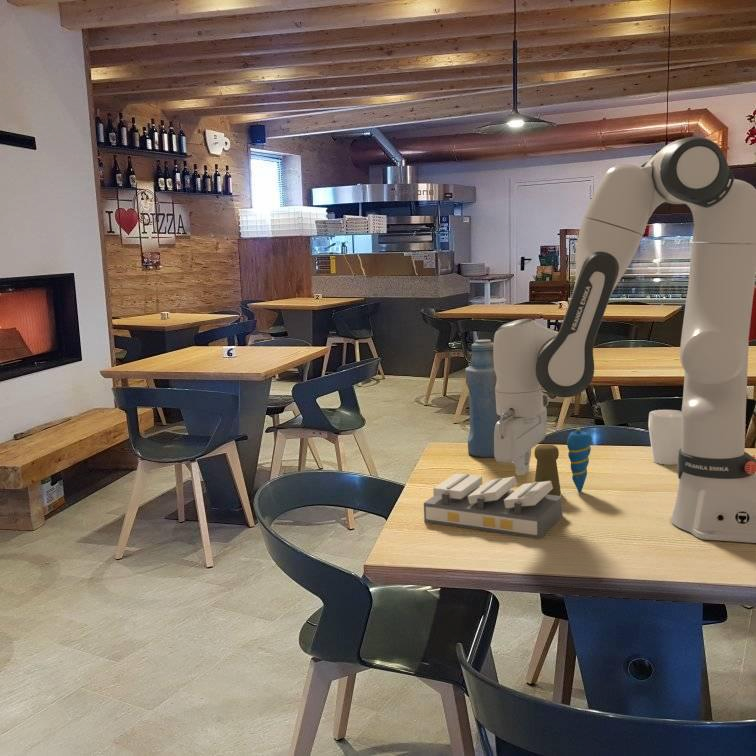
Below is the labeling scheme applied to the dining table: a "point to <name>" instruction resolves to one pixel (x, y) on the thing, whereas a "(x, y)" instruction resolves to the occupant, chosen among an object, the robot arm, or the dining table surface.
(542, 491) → the panel
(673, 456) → the cup
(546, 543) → the dining table surface
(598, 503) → the dining table surface
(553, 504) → the switch unit
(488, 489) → the rocker
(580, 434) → the ornament
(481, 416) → the bottle
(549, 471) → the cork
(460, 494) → the grooved switch paddle
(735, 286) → the robot arm
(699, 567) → the dining table surface
